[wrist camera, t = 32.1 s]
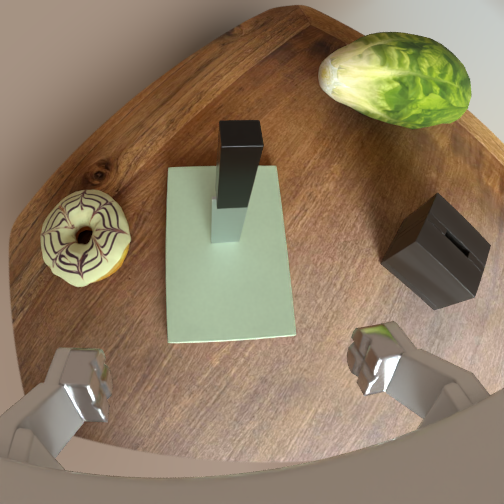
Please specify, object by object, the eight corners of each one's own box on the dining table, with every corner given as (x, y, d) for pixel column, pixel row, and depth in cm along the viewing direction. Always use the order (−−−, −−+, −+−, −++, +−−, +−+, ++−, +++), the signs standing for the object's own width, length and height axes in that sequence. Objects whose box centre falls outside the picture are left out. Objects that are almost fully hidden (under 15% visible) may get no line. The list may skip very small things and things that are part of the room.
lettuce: (292, 78, 46) (316, 0, 31) (414, 85, 51) (451, 30, 36) (326, 151, 42) (370, 68, 27) (452, 145, 47) (502, 93, 32)
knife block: (434, 310, 36) (475, 297, 29) (380, 263, 37) (415, 241, 30) (453, 264, 39) (490, 245, 31) (404, 219, 40) (437, 192, 32)
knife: (239, 249, 34) (269, 145, 18) (211, 251, 34) (215, 146, 17) (238, 231, 35) (264, 119, 18) (210, 233, 35) (213, 120, 18)
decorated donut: (88, 307, 31) (75, 302, 28) (36, 246, 33) (22, 234, 29) (151, 239, 35) (145, 226, 31) (94, 185, 36) (85, 169, 32)
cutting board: (293, 335, 33) (296, 335, 32) (169, 343, 32) (167, 342, 30) (274, 170, 40) (276, 165, 38) (169, 172, 38) (168, 167, 37)
